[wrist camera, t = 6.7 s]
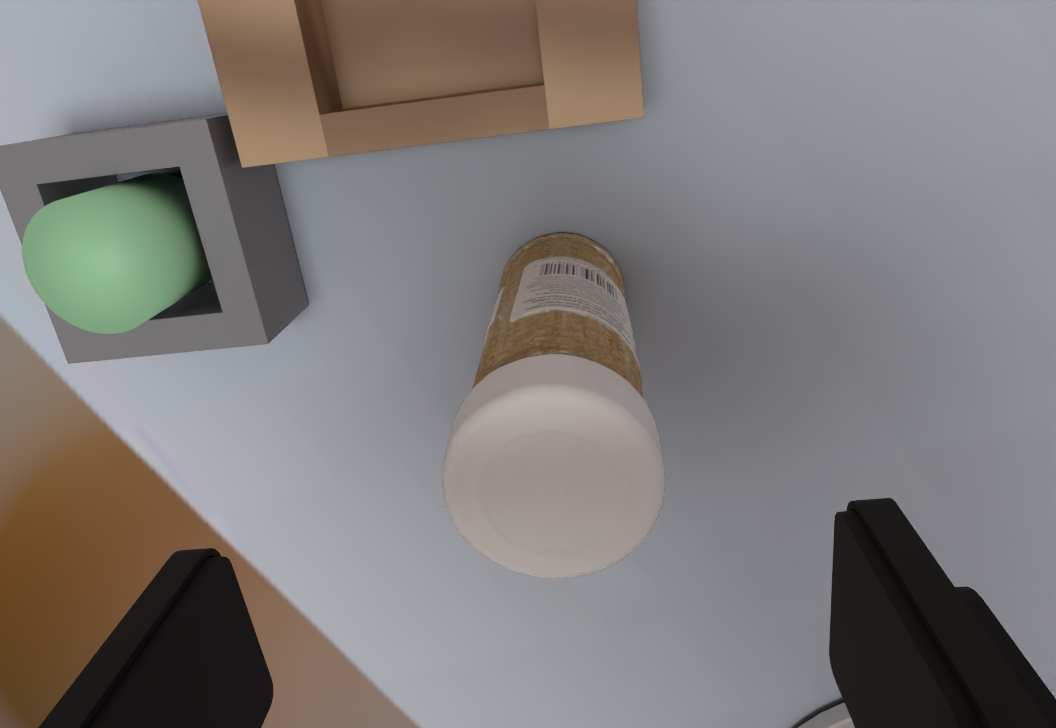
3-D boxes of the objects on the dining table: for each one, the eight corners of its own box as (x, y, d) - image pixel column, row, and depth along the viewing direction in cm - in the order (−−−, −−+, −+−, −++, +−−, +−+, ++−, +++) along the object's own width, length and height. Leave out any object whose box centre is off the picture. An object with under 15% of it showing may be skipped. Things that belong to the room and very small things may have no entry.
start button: (241, 283, 26) (178, 327, 22) (133, 295, 26) (52, 340, 22) (208, 166, 24) (135, 190, 20) (94, 180, 25) (0, 206, 21)
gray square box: (308, 305, 28) (268, 343, 24) (133, 323, 29) (68, 363, 25) (260, 108, 25) (205, 119, 22) (68, 134, 26) (-16, 148, 22)
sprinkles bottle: (476, 304, 28) (394, 513, 15) (549, 203, 26) (522, 344, 14) (577, 372, 28) (576, 623, 16) (653, 278, 27) (717, 475, 14)
